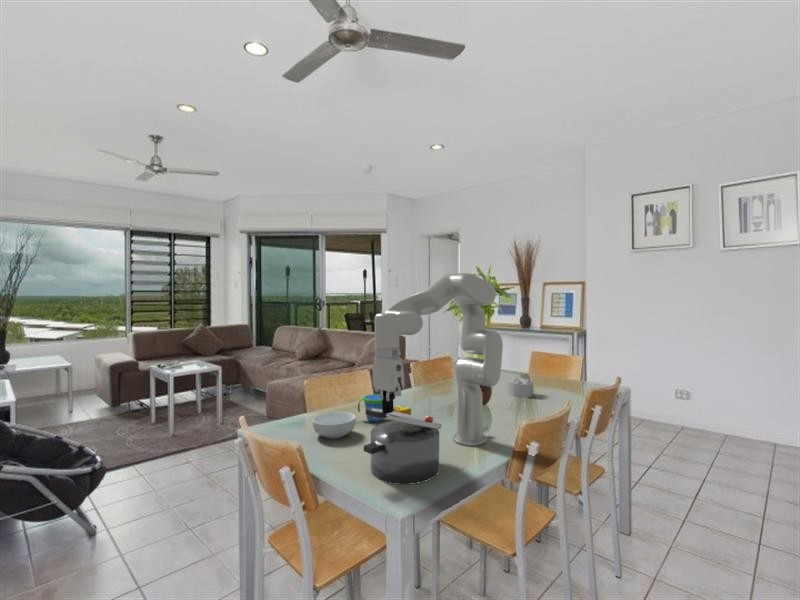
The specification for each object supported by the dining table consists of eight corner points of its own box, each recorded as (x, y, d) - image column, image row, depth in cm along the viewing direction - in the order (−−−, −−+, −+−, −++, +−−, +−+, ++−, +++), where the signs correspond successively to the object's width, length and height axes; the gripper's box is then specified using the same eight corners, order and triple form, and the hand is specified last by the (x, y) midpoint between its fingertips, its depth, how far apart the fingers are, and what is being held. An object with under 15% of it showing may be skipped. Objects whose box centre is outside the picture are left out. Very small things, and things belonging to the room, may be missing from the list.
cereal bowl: (336, 425, 177) (336, 408, 177) (364, 433, 167) (364, 416, 166) (303, 436, 164) (303, 418, 164) (332, 446, 154) (332, 427, 153)
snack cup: (395, 417, 188) (395, 394, 188) (390, 424, 178) (390, 400, 177) (361, 415, 191) (361, 393, 190) (355, 422, 180) (355, 399, 180)
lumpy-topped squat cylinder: (529, 398, 219) (529, 382, 219) (505, 395, 225) (505, 379, 225) (534, 394, 228) (534, 378, 228) (510, 391, 234) (510, 375, 234)
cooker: (407, 448, 152) (407, 415, 151) (456, 465, 137) (456, 429, 136) (344, 473, 131) (344, 435, 131) (394, 498, 116) (394, 455, 115)
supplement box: (390, 434, 166) (389, 407, 165) (401, 431, 169) (401, 404, 169) (399, 438, 161) (399, 410, 161) (411, 435, 165) (411, 407, 165)
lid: (404, 416, 151) (405, 408, 152) (456, 431, 135) (457, 422, 136) (344, 407, 131) (346, 398, 132) (397, 424, 115) (399, 414, 116)
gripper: (413, 354, 126) (414, 414, 126) (379, 349, 136) (380, 405, 137) (396, 357, 120) (396, 420, 121) (361, 352, 131) (362, 410, 131)
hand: (387, 412), depth 129 cm, fingers closed
